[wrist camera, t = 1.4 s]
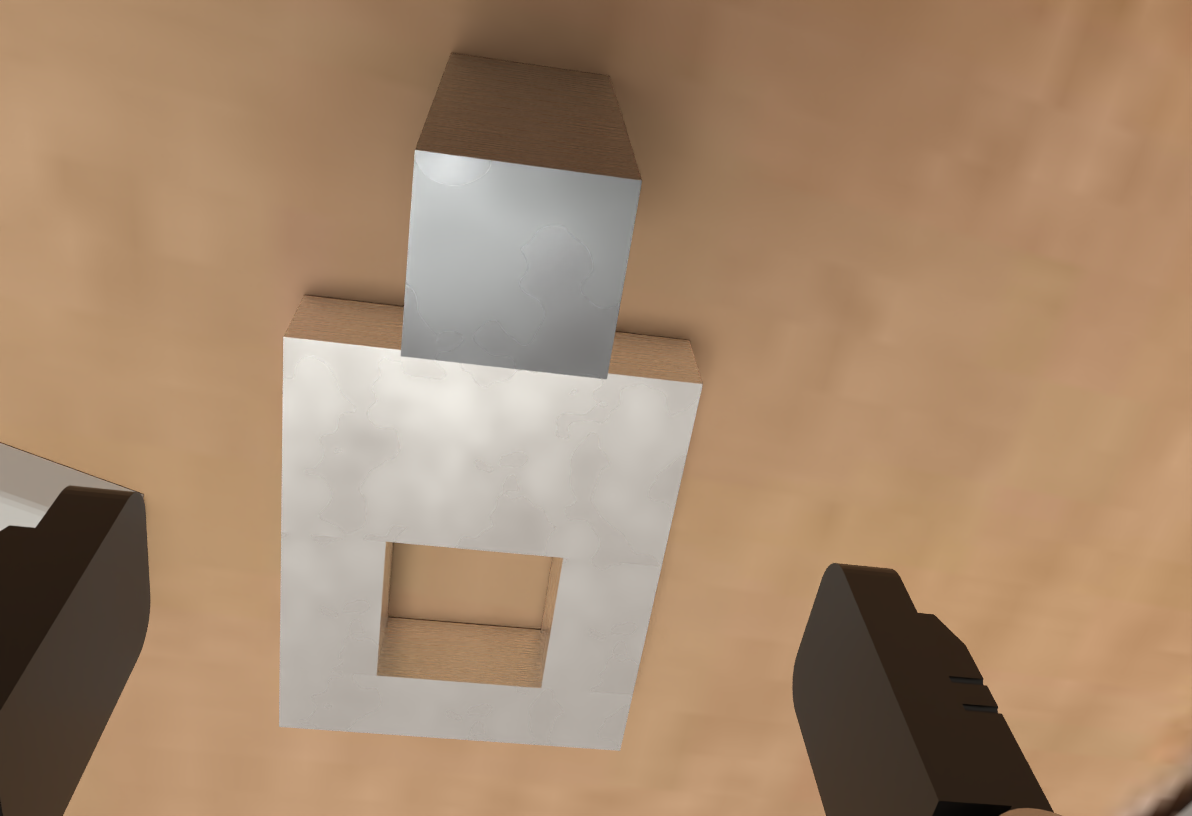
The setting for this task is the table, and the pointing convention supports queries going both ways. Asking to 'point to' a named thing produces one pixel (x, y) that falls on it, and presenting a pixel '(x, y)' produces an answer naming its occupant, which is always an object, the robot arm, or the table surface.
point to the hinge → (35, 486)
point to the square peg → (519, 220)
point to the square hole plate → (471, 528)
